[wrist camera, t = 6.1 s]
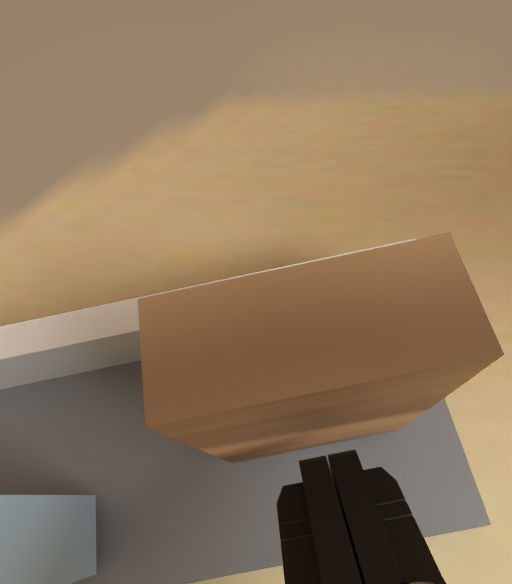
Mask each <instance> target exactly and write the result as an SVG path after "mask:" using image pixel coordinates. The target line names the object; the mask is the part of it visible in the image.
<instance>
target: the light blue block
mask: <svg viewBox="0 0 512 584" xmlns="http://www.w3.org/2000/svg"><path fill="white" fill-rule="evenodd" d="M95 574H96V495H0V584H71V583H73V582H76V581H79V580H81V579H84V578H87V577H90V576H92V575H95Z"/></svg>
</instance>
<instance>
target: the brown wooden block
mask: <svg viewBox="0 0 512 584" xmlns="http://www.w3.org/2000/svg"><path fill="white" fill-rule="evenodd" d="M138 315H139V331H140V348H141V364H142V381H143V397H144V413H145V427H146V428H148V429H151V430H153V431H156V432H158V433H160V434H163V435H165V436H168V437H170V438H172V439H175V440H177V441H180V442H182V443H185V444H187V445H189V446H192V447H194V448H197V449H199V450H202V451H204V452H206V453H209V454H211V455H214V456H216V457H218V458H221V459H223V460H226V461H228V462H231V463H237V462H242V461H247V460H252V459H257V458H262V457H267V456H272V455H277V454H282V453H287V452H292V451H297V450H302V449H307V448H312V447H317V446H322V445H327V444H332V443H337V442H342V441H347V440H352V439H357V438H362V437H367V436H372V435H377V434H382V433H387V432H392V431H397V430H401V429H402V428H403V427H405V426H406V425H408V424H409V423H410V422H412V421H413V420H414V419H416V418H417V417H419V416H420V415H421V414H423V413H424V412H425V411H427V410H428V409H430V408H431V407H432V406H434V405H435V404H436V403H438V402H439V401H441V400H442V399H443V398H445V397H446V396H447V395H449V394H450V393H452V392H453V391H454V390H456V389H457V388H458V387H460V386H461V385H463V384H464V383H465V382H467V381H468V380H469V379H471V378H472V377H474V376H475V375H476V374H478V373H479V372H480V371H482V370H483V369H484V368H486V367H487V366H489V365H490V364H491V363H493V362H494V361H495V360H497V359H498V358H500V357H501V356H502V355H504V353H503V351H502V349H501V346H500V344H499V342H498V340H497V338H496V335H495V333H494V331H493V329H492V326H491V324H490V322H489V320H488V318H487V315H486V313H485V311H484V309H483V306H482V304H481V302H480V300H479V298H478V295H477V293H476V291H475V289H474V286H473V284H472V282H471V280H470V277H469V275H468V273H467V271H466V269H465V266H464V264H463V262H462V260H461V257H460V255H459V253H458V251H457V249H456V246H455V244H454V242H453V240H452V237H451V235H450V233H446V234H442V235H437V236H432V237H427V238H423V239H418V240H413V241H408V242H404V243H399V244H394V245H390V246H385V247H380V248H375V249H371V250H366V251H361V252H356V253H352V254H347V255H342V256H338V257H333V258H328V259H323V260H319V261H314V262H309V263H304V264H300V265H295V266H290V267H286V268H281V269H276V270H271V271H267V272H262V273H257V274H252V275H248V276H243V277H238V278H234V279H229V280H224V281H219V282H215V283H210V284H205V285H200V286H196V287H191V288H186V289H182V290H177V291H172V292H167V293H163V294H158V295H153V296H148V297H144V298H139V299H138Z"/></svg>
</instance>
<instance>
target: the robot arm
mask: <svg viewBox="0 0 512 584" xmlns="http://www.w3.org/2000/svg"><path fill="white" fill-rule="evenodd" d="M328 461H329V465H328ZM328 461H327V458H326V455H325V456H320V457H314V458H309V459H304V460H299V466H300V471H301V476H302V481H303V482H300V483H295V484H290V485H285V486H283V487H282V489H281V492H280V495H279V498H278V501H277V503H276V504H277V514H278V523H279V532H280V540H281V551H282V560H283V569H284V578H285V584H446V582H445V581H444V579H443V577H442V576H441V573H440V571H439V569H438V567H437V565H436V563H435V561H434V559H433V556H432V554H431V552H430V550H429V548H428V546H427V544H426V542H425V540H424V537H423V535H422V533H421V531H420V529H419V527H418V525H417V523H416V520H415V518H414V517H413V515H412V512H411V510H410V508H409V506H408V504H407V502H406V500H405V497H404V495H403V493H402V491H401V489H400V487H399V484H398V482H397V480H396V479H395V478H393V477H392V476H391V475H390V474H389V473H388V472H387V471H386V470H384V469H383V468H382V467H376V468H371V469H366V470H363V467H362V465H361V462H360V460H359V457H358V454H357V452H356V450H355V449H354V450H349V451H344V452H339V453H334V454H329V455H328ZM329 466H330V469H329Z"/></svg>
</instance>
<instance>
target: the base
mask: <svg viewBox="0 0 512 584" xmlns="http://www.w3.org/2000/svg"><path fill="white" fill-rule="evenodd" d="M413 240H416V239H411V240H406V241H401V242H396V243H392V244H387V245H382V246H377V247H373V248H368V249H363V250H359V251H354V252H349V253H344V254H340V255H335V256H330V257H325V258H321V259H316V260H311V261H307V262H302V263H297V264H292V265H288V266H283V267H278V268H273V269H269V270H264V271H259V272H255V273H250V274H245V275H240V276H236V277H231V278H226V279H221V280H217V281H212V282H207V283H203V284H198V285H193V286H188V287H184V288H179V289H174V290H169V291H165V292H160V293H155V294H151V295H146V296H141V297H136V298H132V299H127V300H122V301H118V302H113V303H108V304H103V305H99V306H94V307H89V308H84V309H80V310H75V311H70V312H66V313H61V314H56V315H51V316H47V317H42V318H37V319H32V320H28V321H23V322H18V323H14V324H9V325H4V326H0V495H96V574H95V575H92V576H90V577H87V578H84V579H81V580H79V581H76V582H73V583H71V584H187V583H192V582H197V581H202V580H207V579H212V578H218V577H223V576H228V575H233V574H238V573H243V572H249V571H254V570H259V569H264V568H269V567H274V566H280V565H283V560H282V551H281V540H280V532H279V523H278V514H277V504H276V503H277V501H278V498H279V495H280V492H281V489H282V487H283V486H285V485H290V484H295V483H300V482H303V481H302V476H301V471H300V466H299V460H304V459H309V458H314V457H320V456H325V455H326V458H327V461H328V455H329V454H334V453H339V452H344V451H349V450H354V449H355V450H356V452H357V454H358V457H359V460H360V462H361V465H362V467H363V470H366V469H371V468H376V467H382V468H383V469H384V470H386V471H387V472H388V473H389V474H390V475H391V476H392V477H393V478H395V479H396V480H397V482H398V484H399V487H400V489H401V491H402V493H403V495H404V497H405V500H406V502H407V504H408V506H409V508H410V510H411V512H412V515H413V517H414V518H415V520H416V523H417V525H418V527H419V529H420V531H421V533H422V535H423V537H430V536H435V535H440V534H445V533H450V532H455V531H461V530H466V529H471V528H476V527H481V526H486V525H491V524H490V521H489V518H488V516H487V513H486V510H485V507H484V505H483V502H482V499H481V497H480V494H479V491H478V488H477V486H476V483H475V480H474V478H473V475H472V472H471V469H470V467H469V464H468V461H467V459H466V456H465V453H464V450H463V448H462V445H461V442H460V440H459V437H458V434H457V431H456V429H455V426H454V423H453V421H452V418H451V415H450V412H449V410H448V407H447V404H446V402H445V399H444V398H443V399H442V400H441V401H439V402H438V403H436V404H435V405H434V406H432V407H431V408H430V409H428V410H427V411H425V412H424V413H423V414H421V415H420V416H419V417H417V418H416V419H414V420H413V421H412V422H410V423H409V424H408V425H406V426H405V427H403V428H402V429H401V430H397V431H392V432H387V433H382V434H377V435H372V436H367V437H362V438H357V439H352V440H347V441H342V442H337V443H332V444H327V445H322V446H317V447H312V448H307V449H302V450H297V451H292V452H287V453H282V454H277V455H272V456H267V457H262V458H257V459H252V460H247V461H242V462H237V463H231V462H228V461H226V460H223V459H221V458H218V457H216V456H214V455H211V454H209V453H206V452H204V451H202V450H199V449H197V448H194V447H192V446H189V445H187V444H185V443H182V442H180V441H177V440H175V439H172V438H170V437H168V436H165V435H163V434H160V433H158V432H156V431H153V430H151V429H148V428H146V427H145V413H144V397H143V381H142V364H141V348H140V331H139V315H138V299H139V298H144V297H148V296H153V295H158V294H163V293H167V292H172V291H177V290H182V289H186V288H191V287H196V286H200V285H205V284H210V283H215V282H219V281H224V280H229V279H234V278H238V277H243V276H248V275H252V274H257V273H262V272H267V271H271V270H276V269H281V268H286V267H290V266H295V265H300V264H304V263H309V262H314V261H319V260H323V259H328V258H333V257H338V256H342V255H347V254H352V253H356V252H361V251H366V250H371V249H375V248H380V247H385V246H390V245H394V244H399V243H404V242H408V241H413ZM328 465H329V461H328ZM329 469H330V466H329Z"/></svg>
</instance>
